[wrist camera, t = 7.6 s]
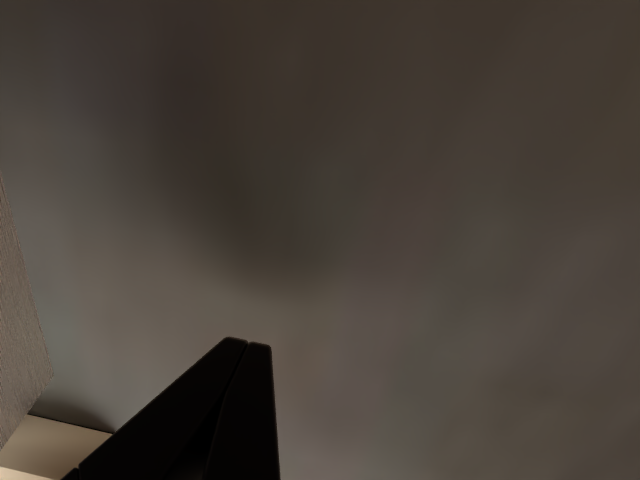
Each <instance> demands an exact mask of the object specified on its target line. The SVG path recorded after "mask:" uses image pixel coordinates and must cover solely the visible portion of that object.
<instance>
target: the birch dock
mask: <svg viewBox="0 0 640 480" xmlns="http://www.w3.org/2000/svg"><path fill="white" fill-rule="evenodd" d="M111 435H113V434H109V433H105V432H101V431H96V430H92V429H88V428H83V427H79V426H75V425H70V424H66V423H62V422H58V421H53V420H49V419H45V418H40V417H36V416H32V415H27V414H26V416H25V417H24V419H23V420H22V421H21V423H20V424H19V426H18V427H17V428H16V430H15V431H14V433H13V434H12V435H11V437H10V438H9V440H8V441H7V442H6V444H5V445H4V447H3V448H2V449H1V451H0V480H60V479H61V478H62V477H64V476H65V475H66V474H67V473H68V472H69V471H71V470H72V469H73V468H74V467H76V468H78V464H79V463H80V462H81V461H82V460H84V459H85V458H86V457H87V456H88V455H89V454H91V453H92V452H93V451H94V450H95V449H96V448H98V447H99V446H100V445H101V444H102V443H103V442H104V441H106V440H107V439H108V438H109V437H110V436H111Z"/></svg>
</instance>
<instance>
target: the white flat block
mask: <svg viewBox="0 0 640 480" xmlns="http://www.w3.org/2000/svg"><path fill="white" fill-rule="evenodd" d="M53 376H54V374H53V370H52V367H51V363H50V359H49V355H48V351H47V347H46V344H45V340H44V336H43V332H42V328H41V324H40V320H39V317H38V313H37V309H36V305H35V301H34V297H33V294H32V290H31V286H30V282H29V278H28V274H27V271H26V267H25V263H24V259H23V255H22V251H21V248H20V244H19V240H18V236H17V232H16V228H15V224H14V221H13V217H12V213H11V209H10V205H9V201H8V198H7V194H6V190H5V186H4V182H3V178H2V175H1V171H0V451H1V449H2V448H3V447H4V445H5V444H6V442H7V441H8V440H9V438H10V437H11V435H12V434H13V433H14V431H15V430H16V428H17V427H18V426H19V424H20V423H21V421H22V420H23V419H24V417H25V416H26V414H27V413H28V412H29V410H30V409H31V407H32V406H33V405H34V403H35V402H36V400H37V399H38V397H39V396H40V395H41V393H42V392H43V390H44V389H45V388H46V386H47V385H48V383H49V382H50V381H51V379H52V378H53Z"/></svg>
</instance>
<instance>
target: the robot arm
mask: <svg viewBox="0 0 640 480" xmlns="http://www.w3.org/2000/svg"><path fill="white" fill-rule="evenodd" d="M60 480H281V479H280V465H279V451H278V437H277V422H276V408H275V394H274V380H273V365H272V351H271V347H270V346H269V345H267V344H262V343H257V342H250V343H249V344H248V342H247V341H246V340H243V339H239V338H234V337H226V338H224V339H223V340H222V341H220V342H219V343H218V344H217V345H216V346H215V347H213V348H212V349H211V350H210V351H209V352H208V353H206V354H205V355H204V356H203V357H202V358H201V359H200V360H198V361H197V362H196V363H195V364H194V365H193V366H191V367H190V368H189V369H188V370H187V371H186V372H184V373H183V374H182V375H181V376H180V377H179V378H178V379H176V380H175V381H174V382H173V383H172V384H171V385H169V386H168V387H167V388H166V389H165V390H164V391H162V392H161V393H160V394H159V395H158V396H157V397H155V398H154V399H153V400H152V401H151V402H150V403H149V404H147V405H146V406H145V407H144V408H143V409H142V410H140V411H139V412H138V413H137V414H136V415H135V416H133V417H132V418H131V419H130V420H129V421H128V422H127V423H125V424H124V425H123V426H122V427H121V428H120V429H118V430H117V431H116V432H115V433H114V434H113V435H111V436H110V437H109V438H108V439H107V440H106V441H104V442H103V443H102V444H101V445H100V446H99V447H98V448H96V449H95V450H94V451H93V452H92V453H91V454H89V455H88V456H87V457H86V458H85V459H84V460H82V461H81V462H80V463H79V464H78V468H76V467H74V468H73V469H72V470H71V471H69V472H68V473H67V474H66V475H65V476H64V477H62V478H61V479H60Z"/></svg>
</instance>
